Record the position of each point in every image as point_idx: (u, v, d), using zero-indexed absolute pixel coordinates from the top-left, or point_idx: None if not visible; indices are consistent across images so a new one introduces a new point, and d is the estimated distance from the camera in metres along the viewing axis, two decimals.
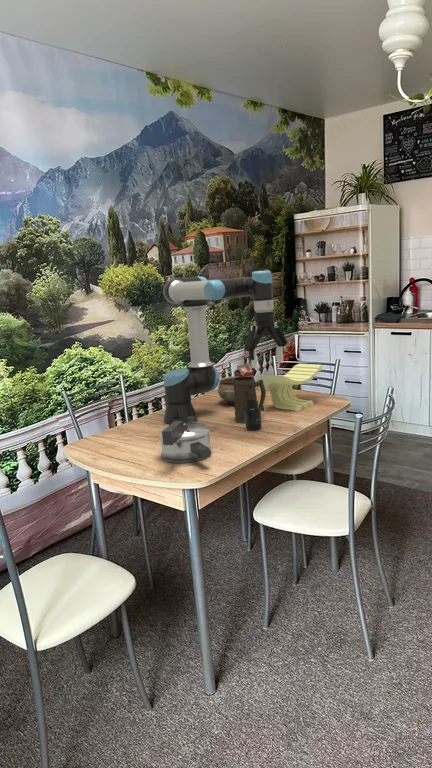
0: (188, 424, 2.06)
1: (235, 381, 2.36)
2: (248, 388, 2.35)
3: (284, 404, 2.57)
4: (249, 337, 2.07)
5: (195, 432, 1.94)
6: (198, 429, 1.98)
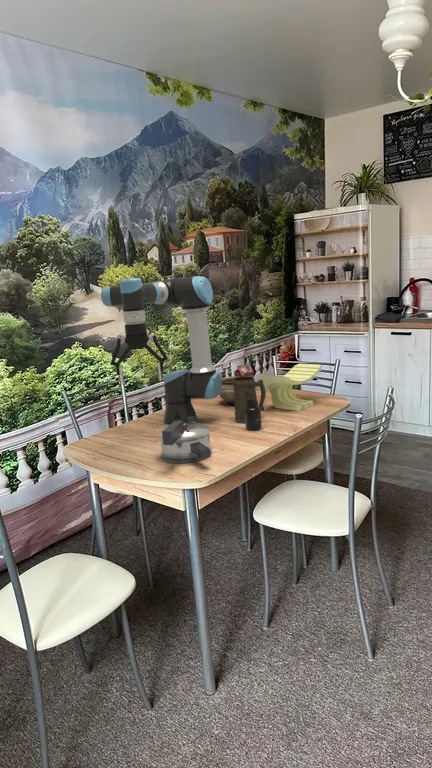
0: (188, 424, 2.06)
1: (235, 381, 2.36)
2: (248, 388, 2.35)
3: (284, 404, 2.57)
4: (115, 350, 1.91)
5: (195, 432, 1.94)
6: (198, 429, 1.98)
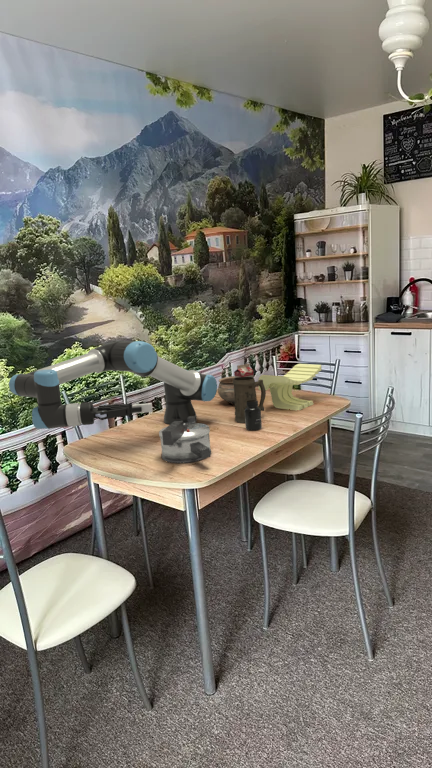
0: (188, 424, 2.06)
1: (235, 381, 2.36)
2: (248, 388, 2.35)
3: (284, 404, 2.57)
4: None
5: (195, 432, 1.94)
6: (198, 429, 1.98)
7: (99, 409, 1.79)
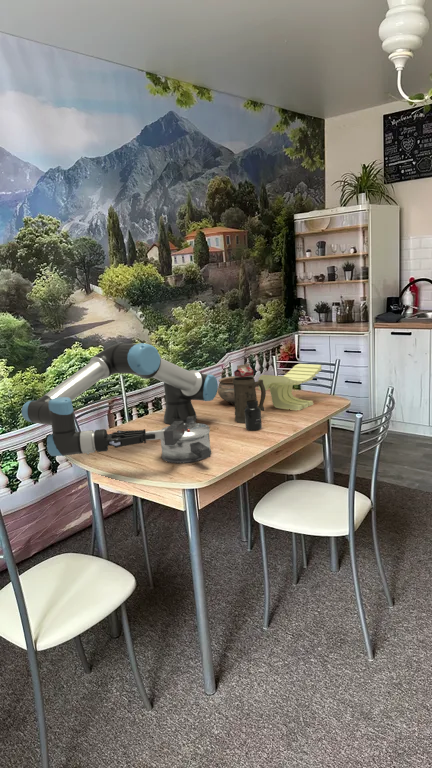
0: (187, 424, 2.06)
1: (235, 381, 2.36)
2: (248, 388, 2.35)
3: (284, 404, 2.57)
4: None
5: (195, 432, 1.95)
6: (198, 429, 1.98)
7: (113, 436, 1.81)
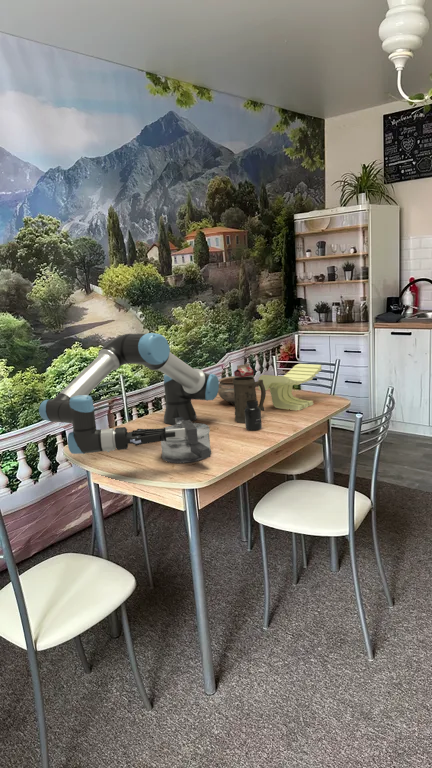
0: (179, 425, 2.06)
1: (235, 381, 2.36)
2: (248, 388, 2.35)
3: (284, 404, 2.57)
4: None
5: (199, 430, 1.97)
6: (197, 427, 2.00)
7: (133, 434, 1.81)
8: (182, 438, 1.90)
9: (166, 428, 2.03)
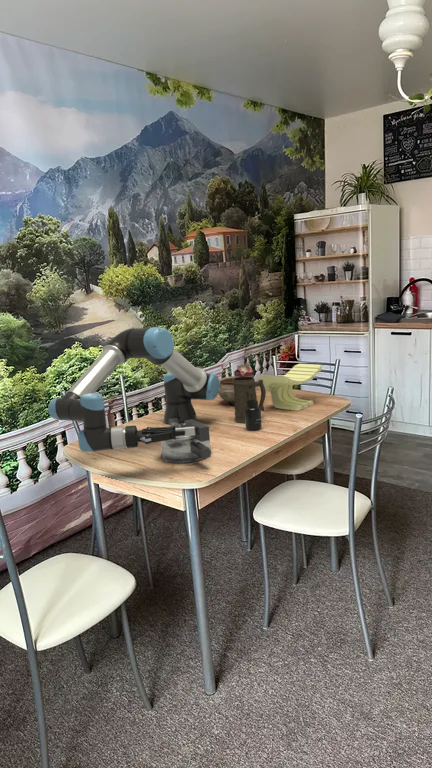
0: (175, 426, 2.05)
1: (235, 381, 2.36)
2: (248, 388, 2.35)
3: (284, 404, 2.57)
4: None
5: None
6: None
7: (143, 433, 1.82)
8: (188, 437, 1.90)
9: None
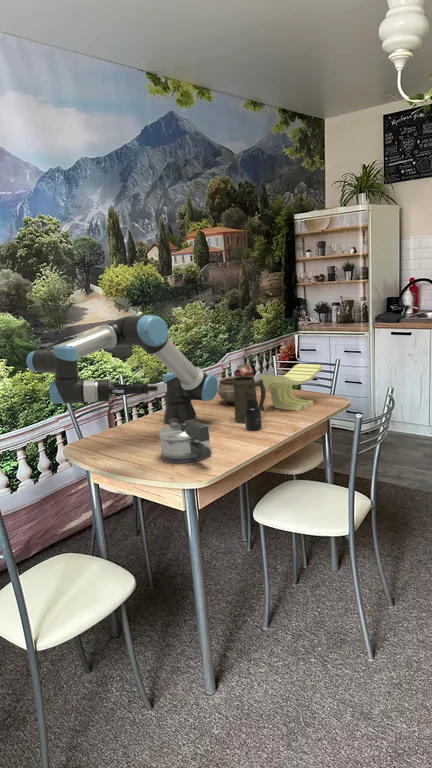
0: (175, 426, 2.05)
1: (235, 381, 2.36)
2: (248, 388, 2.35)
3: (284, 404, 2.57)
4: None
5: None
6: None
7: (116, 386, 1.83)
8: (188, 437, 1.90)
9: (164, 429, 2.01)
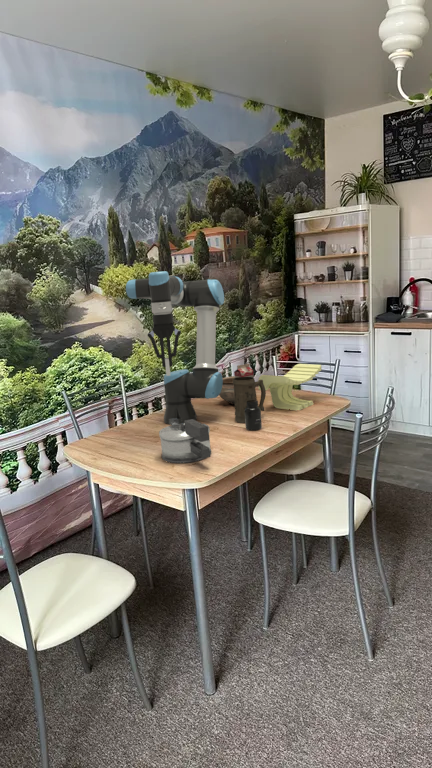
0: (175, 426, 2.05)
1: (235, 381, 2.36)
2: (248, 388, 2.35)
3: (284, 404, 2.57)
4: None
5: None
6: None
7: None
8: (188, 437, 1.90)
9: (164, 429, 2.01)
